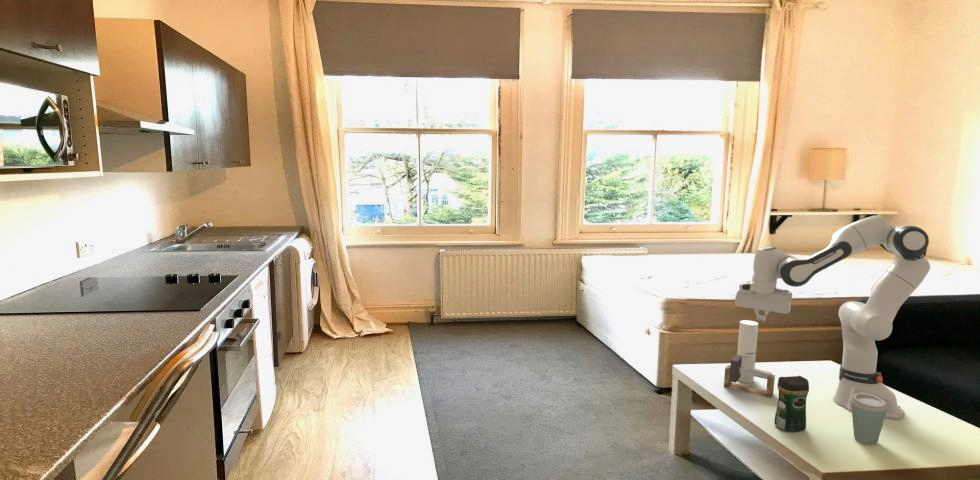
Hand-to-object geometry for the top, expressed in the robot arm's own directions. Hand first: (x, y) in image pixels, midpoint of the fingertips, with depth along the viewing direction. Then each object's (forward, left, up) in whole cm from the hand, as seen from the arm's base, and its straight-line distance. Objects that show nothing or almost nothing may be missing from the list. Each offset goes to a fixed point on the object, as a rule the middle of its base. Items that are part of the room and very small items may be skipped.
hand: (760, 320), depth 229 cm
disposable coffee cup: (-39, +24, -29) cm, 54 cm away
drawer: (+2, +3, -29) cm, 29 cm away
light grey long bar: (+2, +3, -23) cm, 23 cm away
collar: (+7, +3, -26) cm, 27 cm away
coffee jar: (-17, +29, -29) cm, 45 cm away
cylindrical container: (+6, -9, -29) cm, 31 cm away
